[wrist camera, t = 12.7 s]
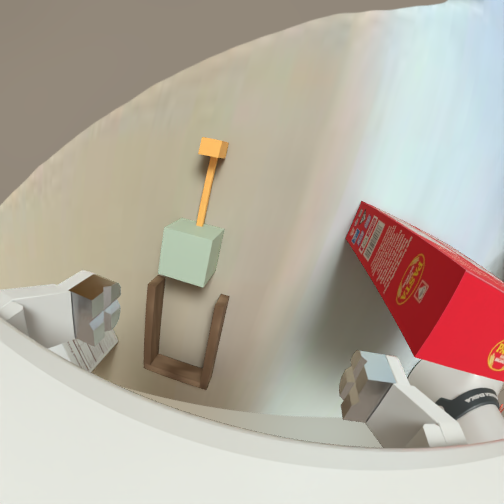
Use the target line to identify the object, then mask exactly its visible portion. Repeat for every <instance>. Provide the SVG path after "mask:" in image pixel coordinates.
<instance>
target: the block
mask: <svg viewBox="0 0 504 504" xmlns="http://www.w3.org/2000/svg"><path fill="white" fill-rule="evenodd" d="M228 144H229V143H227V142H224V141H220V140H215V139H210V138H205V137H202V140H201V144H200V148H199V153H198V154H202V155H206V156H211V157H210V162H209V166H208V171H207V175H206V180H205V184H204V189H203V194H202V199H201V203H200V208H199V213H198V218H197V222H196V221H192V220H189V219H185V218H181V219H179V220H177V221H175V222H174V223H172V224H170V225H168V226H166V227H164V234H163V240H162V247H161V255H160V262H159V270H158V274H161V275H164V276H167V277H171V278H174V279H177V280H180V281H183V282H187V283H190V284H193V285H196V286H200V287H204V286H205V285H206V283H207V282H208V280H209V279H210V278H211V276H212V275H213V273H214V272H215V271H216V266H217V262H218V257H219V252H220V248H221V243H222V238H223V234H224V229H223V228H219V227H215V226H211V225H208V224H204V220H205V215H206V211H207V206H208V201H209V196H210V192H211V187H212V183H213V178H214V174H215V169H216V165H217V160H218V158H225V157H226V153H227V148H228Z"/></svg>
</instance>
